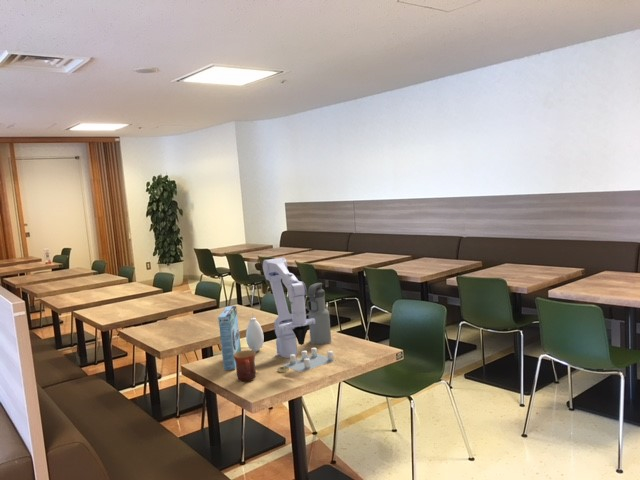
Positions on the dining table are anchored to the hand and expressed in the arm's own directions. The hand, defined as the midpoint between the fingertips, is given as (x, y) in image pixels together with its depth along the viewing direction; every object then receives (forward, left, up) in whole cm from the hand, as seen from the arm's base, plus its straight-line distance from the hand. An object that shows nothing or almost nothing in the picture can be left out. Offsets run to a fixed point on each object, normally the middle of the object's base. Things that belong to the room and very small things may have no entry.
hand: (301, 344), depth 212 cm
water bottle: (-20, +24, -10) cm, 33 cm away
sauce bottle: (-34, -3, -10) cm, 35 cm away
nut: (0, -9, -10) cm, 14 cm away
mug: (-4, -24, -10) cm, 26 cm away
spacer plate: (0, +3, -10) cm, 10 cm away
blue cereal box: (-28, -18, -10) cm, 35 cm away
